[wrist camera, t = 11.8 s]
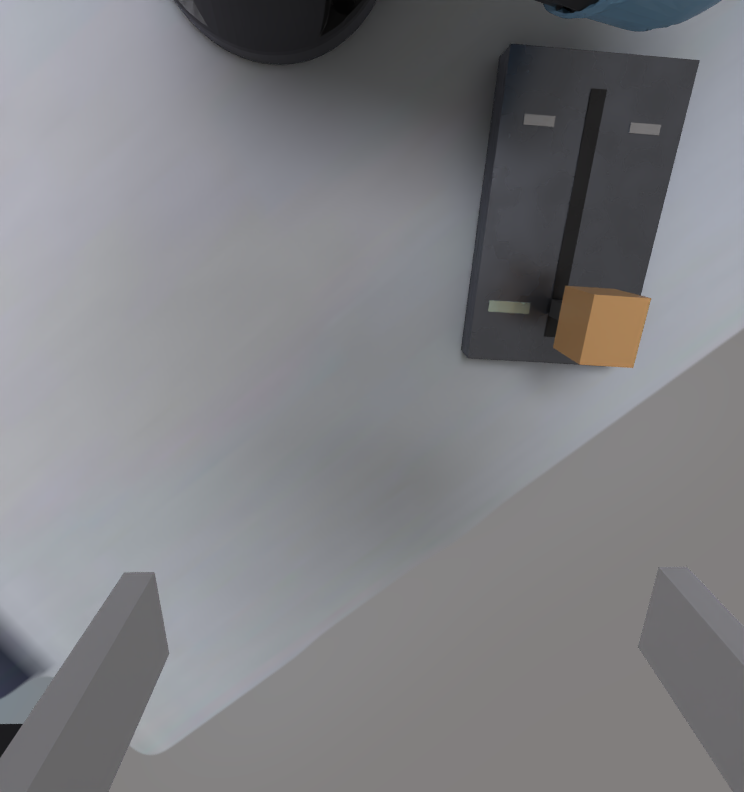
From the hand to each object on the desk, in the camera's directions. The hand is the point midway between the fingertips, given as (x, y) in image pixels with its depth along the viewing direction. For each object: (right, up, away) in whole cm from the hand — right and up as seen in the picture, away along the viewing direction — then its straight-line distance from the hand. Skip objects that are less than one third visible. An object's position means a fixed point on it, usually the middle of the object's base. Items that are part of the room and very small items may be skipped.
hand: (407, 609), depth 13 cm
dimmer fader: (+13, +12, +22) cm, 28 cm away
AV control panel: (+13, +18, +23) cm, 32 cm away
